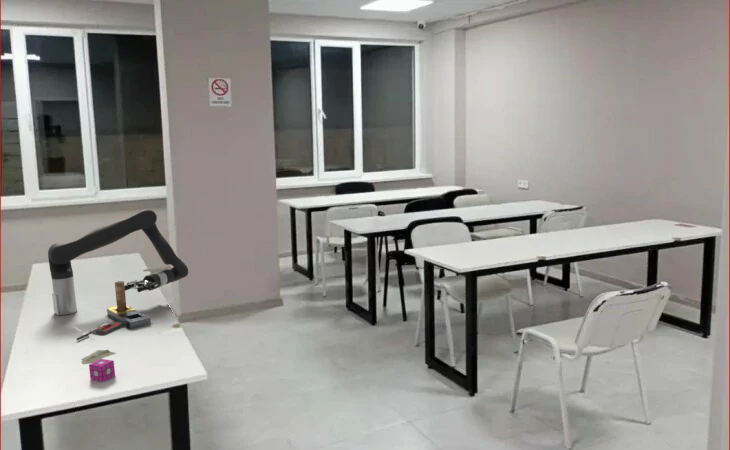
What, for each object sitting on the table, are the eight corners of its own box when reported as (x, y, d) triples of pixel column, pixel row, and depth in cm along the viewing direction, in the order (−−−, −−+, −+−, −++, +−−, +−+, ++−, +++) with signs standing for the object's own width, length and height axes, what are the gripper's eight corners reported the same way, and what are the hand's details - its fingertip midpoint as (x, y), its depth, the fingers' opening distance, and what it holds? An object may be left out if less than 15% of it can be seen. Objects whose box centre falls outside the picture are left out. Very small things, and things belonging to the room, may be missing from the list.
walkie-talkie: (110, 326, 271) (75, 342, 252) (109, 317, 270) (73, 331, 251) (126, 328, 267) (91, 344, 249) (125, 318, 267) (90, 333, 248)
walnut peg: (119, 318, 278) (116, 283, 275) (116, 316, 280) (113, 282, 278) (128, 316, 280) (125, 282, 278) (125, 314, 283) (122, 280, 281)
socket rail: (128, 332, 261) (127, 322, 261) (105, 317, 282) (104, 308, 281) (153, 325, 268) (152, 316, 268) (128, 312, 289) (128, 303, 288)
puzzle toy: (90, 380, 212) (88, 364, 211) (102, 373, 218) (101, 358, 217) (103, 382, 210) (101, 366, 209) (115, 375, 216) (113, 360, 215)
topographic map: (71, 365, 228) (71, 360, 227) (98, 351, 240) (98, 347, 240) (100, 370, 223) (100, 365, 223) (126, 355, 236) (126, 351, 236)
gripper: (143, 272, 301) (118, 280, 286) (166, 274, 295) (141, 282, 281) (144, 286, 302) (119, 295, 288) (167, 289, 297) (143, 298, 282)
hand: (130, 289), depth 284 cm, fingers open, 8 cm apart
